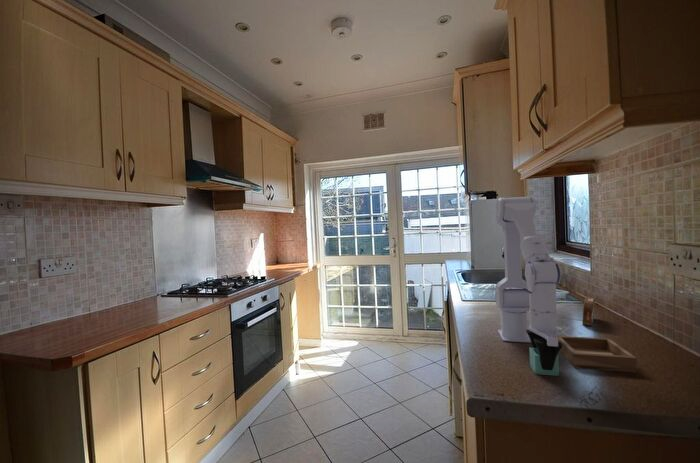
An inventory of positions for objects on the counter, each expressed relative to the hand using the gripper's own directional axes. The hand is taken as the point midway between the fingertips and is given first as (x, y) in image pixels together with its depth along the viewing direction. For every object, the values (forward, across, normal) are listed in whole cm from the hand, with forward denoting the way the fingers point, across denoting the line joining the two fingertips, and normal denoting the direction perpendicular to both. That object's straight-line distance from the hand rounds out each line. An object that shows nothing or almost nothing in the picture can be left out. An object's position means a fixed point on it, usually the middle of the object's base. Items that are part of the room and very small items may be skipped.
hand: (543, 364), depth 80 cm
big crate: (+1, +9, -14) cm, 17 cm away
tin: (+2, +42, -26) cm, 49 cm away
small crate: (+1, 0, 0) cm, 1 cm away
